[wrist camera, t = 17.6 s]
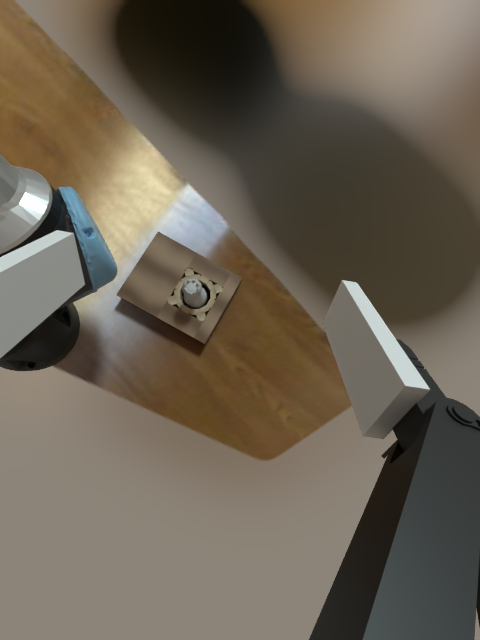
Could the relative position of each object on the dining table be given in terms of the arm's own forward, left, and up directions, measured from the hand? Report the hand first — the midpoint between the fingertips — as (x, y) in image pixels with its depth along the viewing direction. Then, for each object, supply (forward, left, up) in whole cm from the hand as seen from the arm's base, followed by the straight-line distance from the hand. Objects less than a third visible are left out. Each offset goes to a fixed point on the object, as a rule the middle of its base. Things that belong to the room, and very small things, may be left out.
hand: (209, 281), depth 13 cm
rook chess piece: (+5, +7, -36) cm, 37 cm away
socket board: (+5, +10, -36) cm, 37 cm away
